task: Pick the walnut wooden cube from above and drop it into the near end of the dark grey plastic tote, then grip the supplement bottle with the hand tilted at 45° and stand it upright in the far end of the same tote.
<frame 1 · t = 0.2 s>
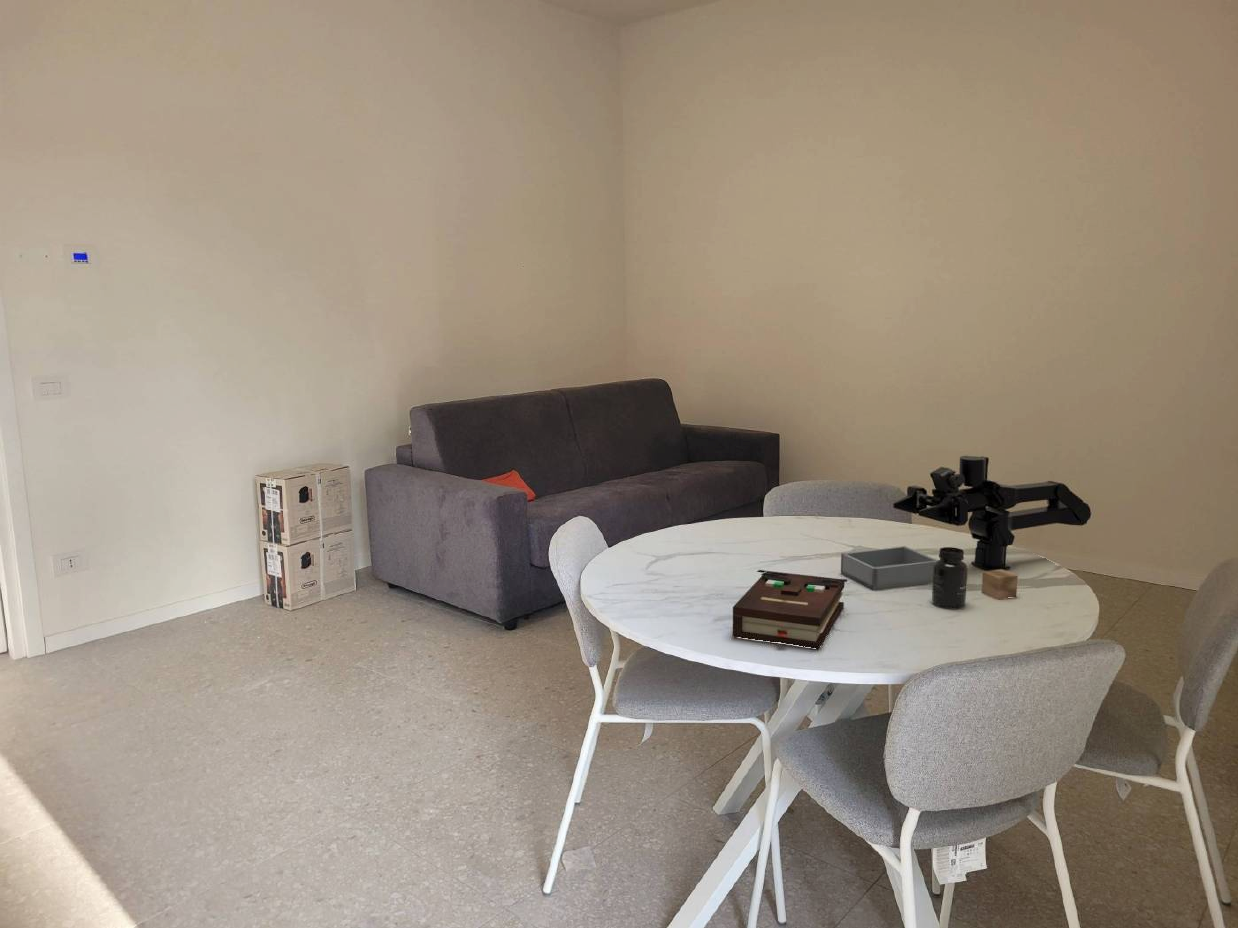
hand: (905, 509, 210), 17 cm above the table, tool horizontal, fingers open, 9 cm apart
supplement bottle: (948, 604, 196), on the table
decorative book: (790, 625, 186), on the table
walnut cube: (998, 595, 201), on the table
tote: (889, 577, 214), on the table
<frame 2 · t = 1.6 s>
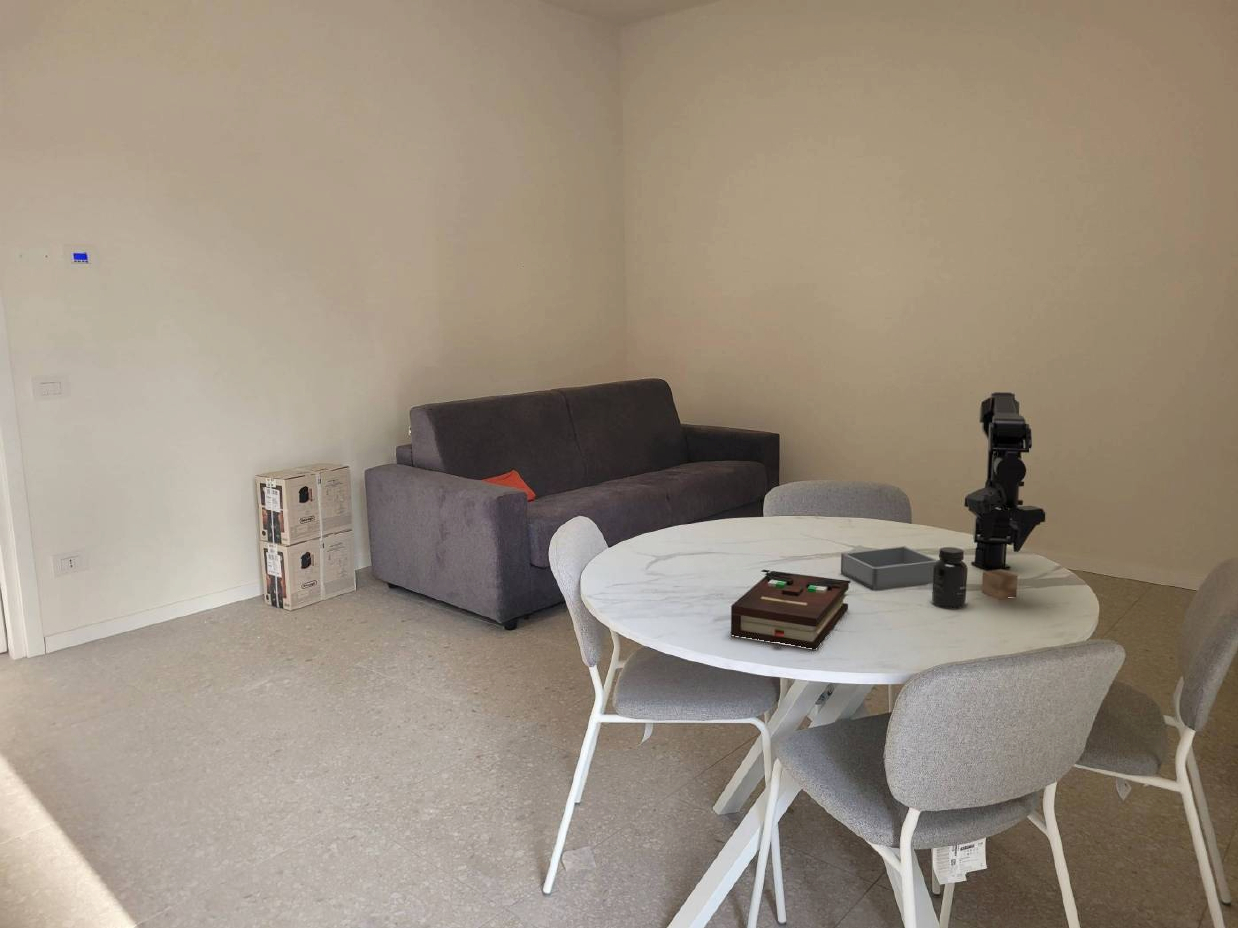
hand: (1001, 546, 199), 11 cm above the table, tool pointing down, fingers open, 9 cm apart
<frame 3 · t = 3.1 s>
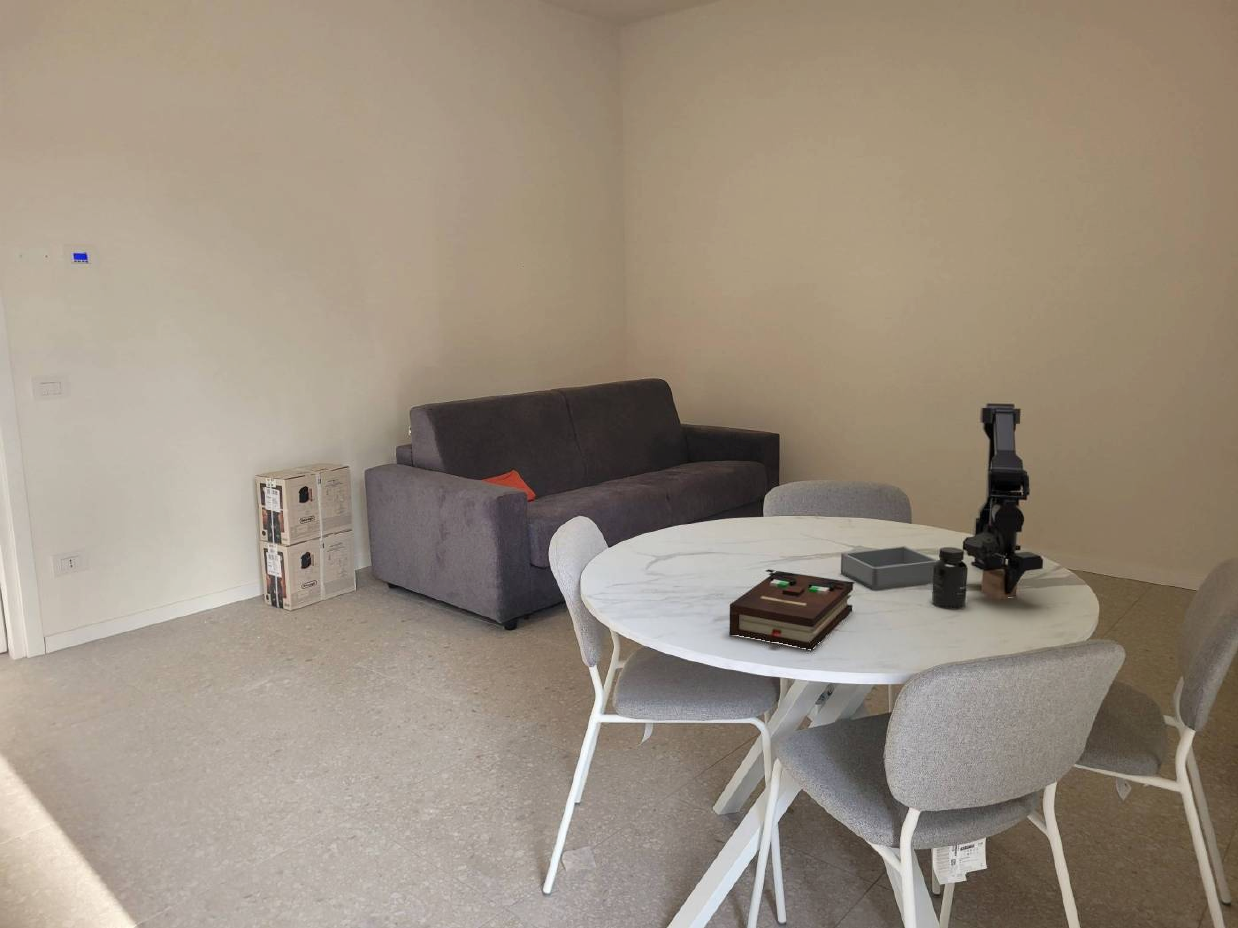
hand: (999, 590, 201), 1 cm above the table, tool pointing down, fingers closed on walnut cube, 5 cm apart
walnut cube: (998, 594, 201), on the table, touching gripper
when the fingers open (5 cm above the table, at t = 7.3 s): walnut cube drops 3 cm, resting on tote.
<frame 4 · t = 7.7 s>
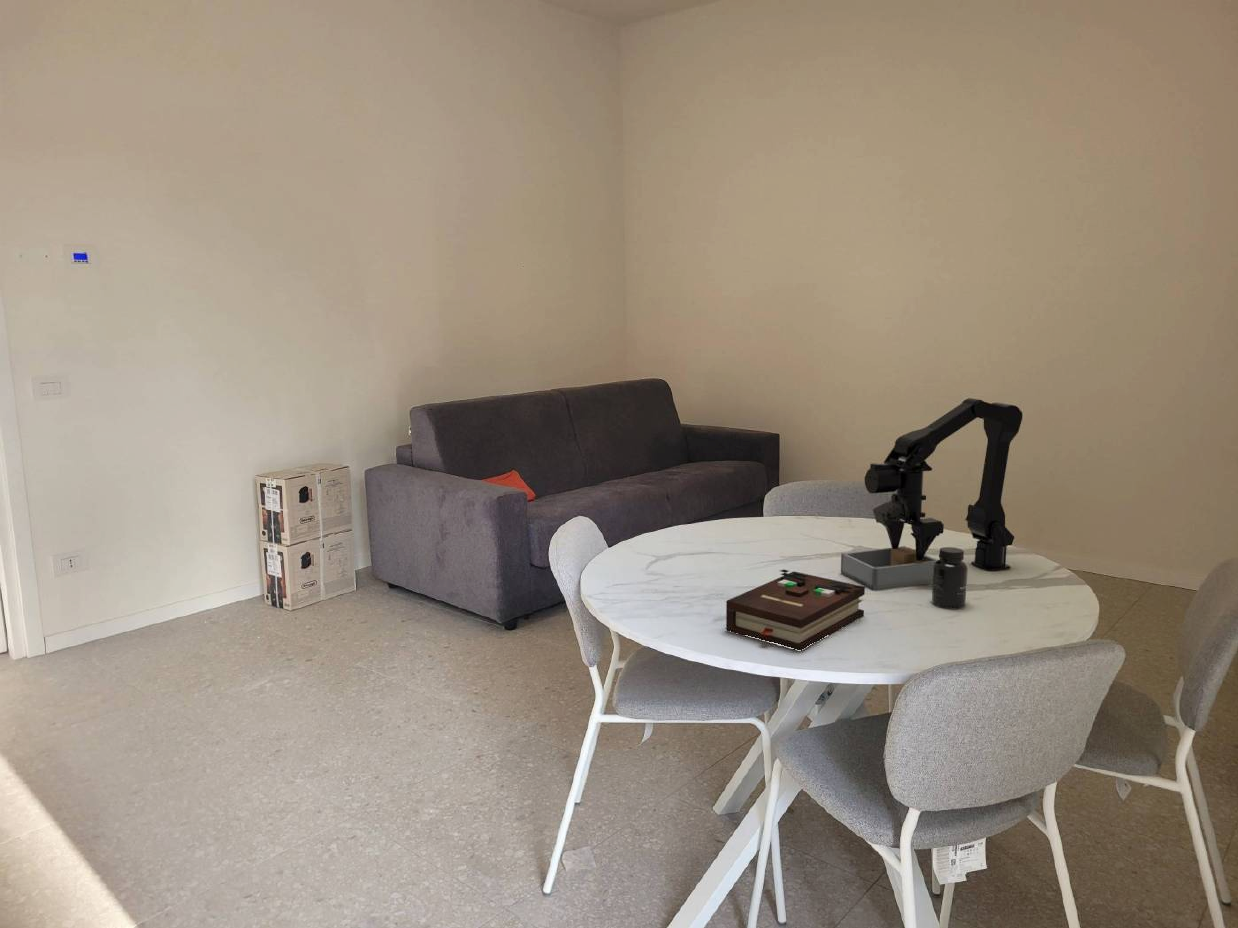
hand: (906, 555, 214), 5 cm above the table, tool pointing down, fingers open, 9 cm apart
walnut cube: (905, 571, 215), point 1 cm above the table, touching tote
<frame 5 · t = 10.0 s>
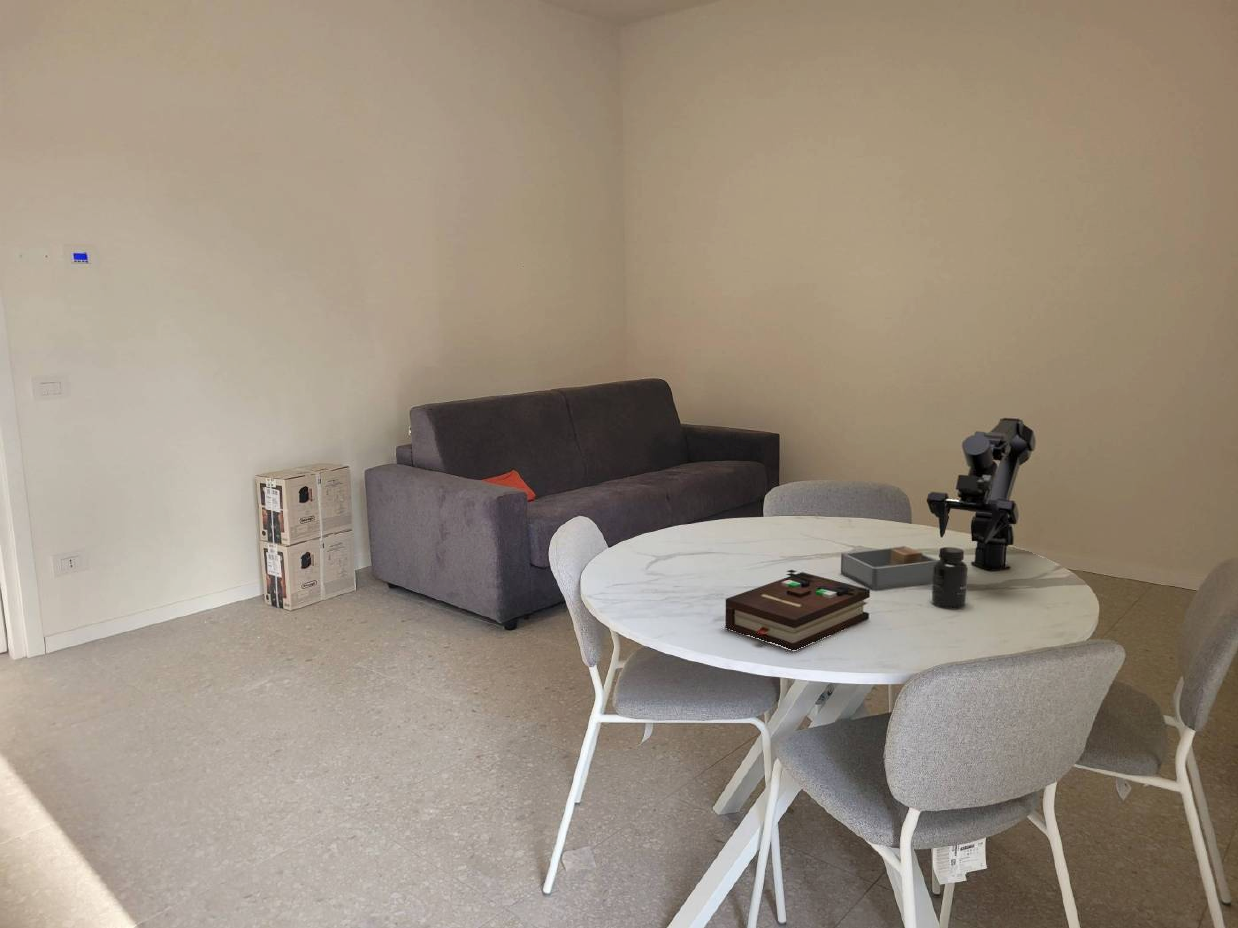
hand: (962, 539, 199), 12 cm above the table, tool tilted 45°, fingers open, 9 cm apart
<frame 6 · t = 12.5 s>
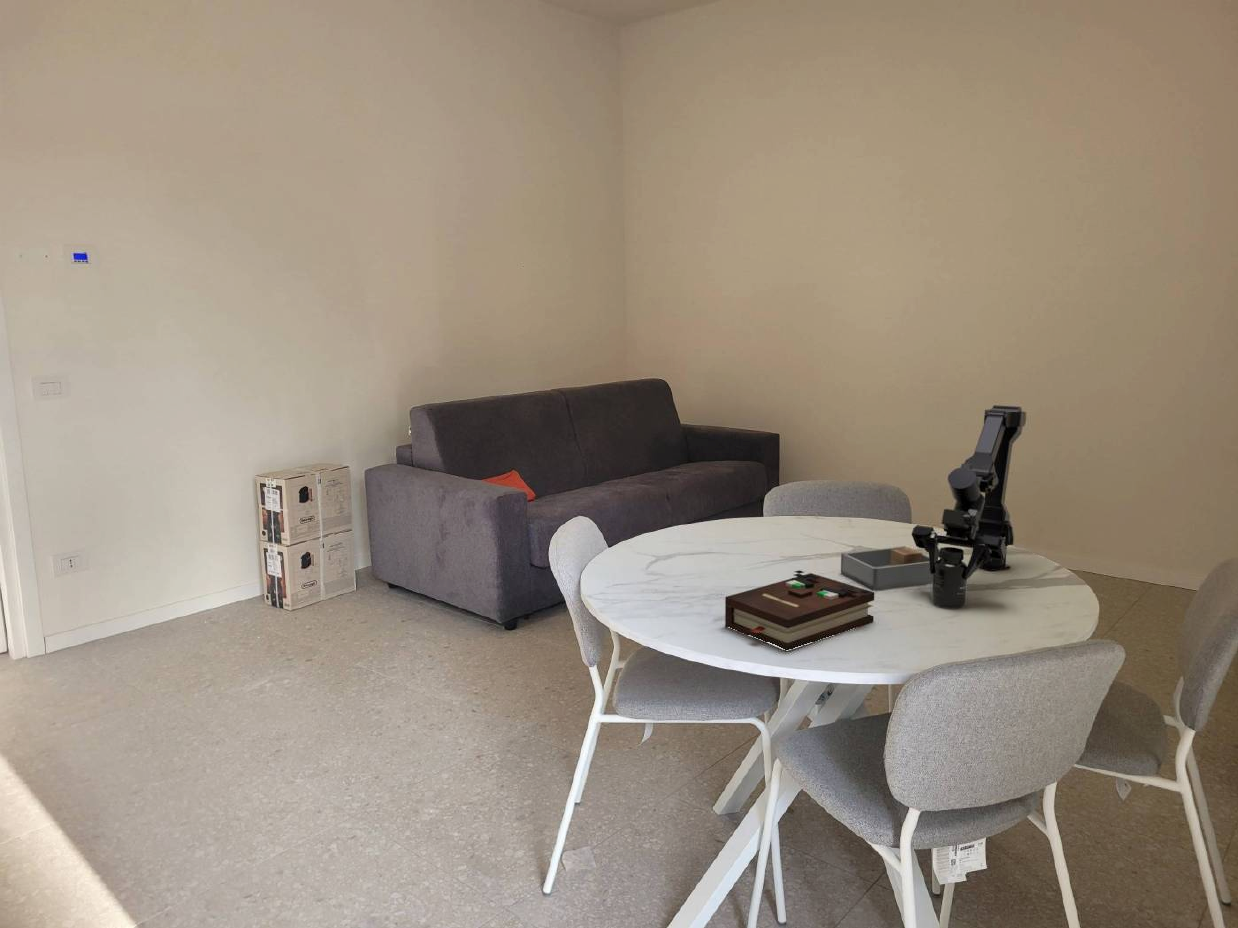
hand: (948, 575, 193), 7 cm above the table, tool tilted 45°, fingers closed on supplement bottle, 7 cm apart
supplement bottle: (948, 604, 195), on the table, touching gripper
when the fingers open (9 cm above the table, at t = 17.2 s): supplement bottle drops 1 cm, resting on tote.
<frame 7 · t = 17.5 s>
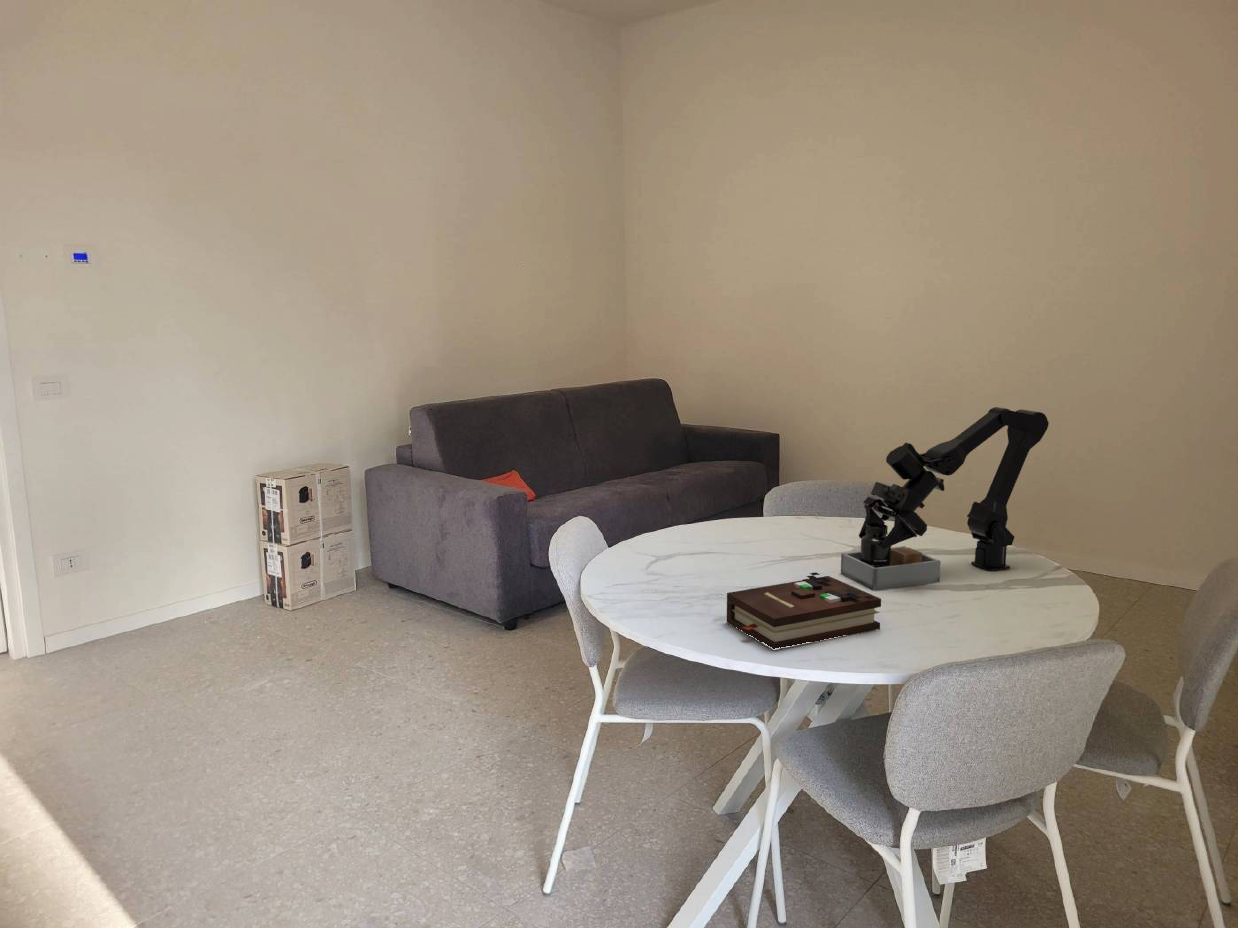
hand: (870, 542, 211), 9 cm above the table, tool tilted 45°, fingers open, 9 cm apart
supplement bottle: (874, 576, 213), point 1 cm above the table, touching tote
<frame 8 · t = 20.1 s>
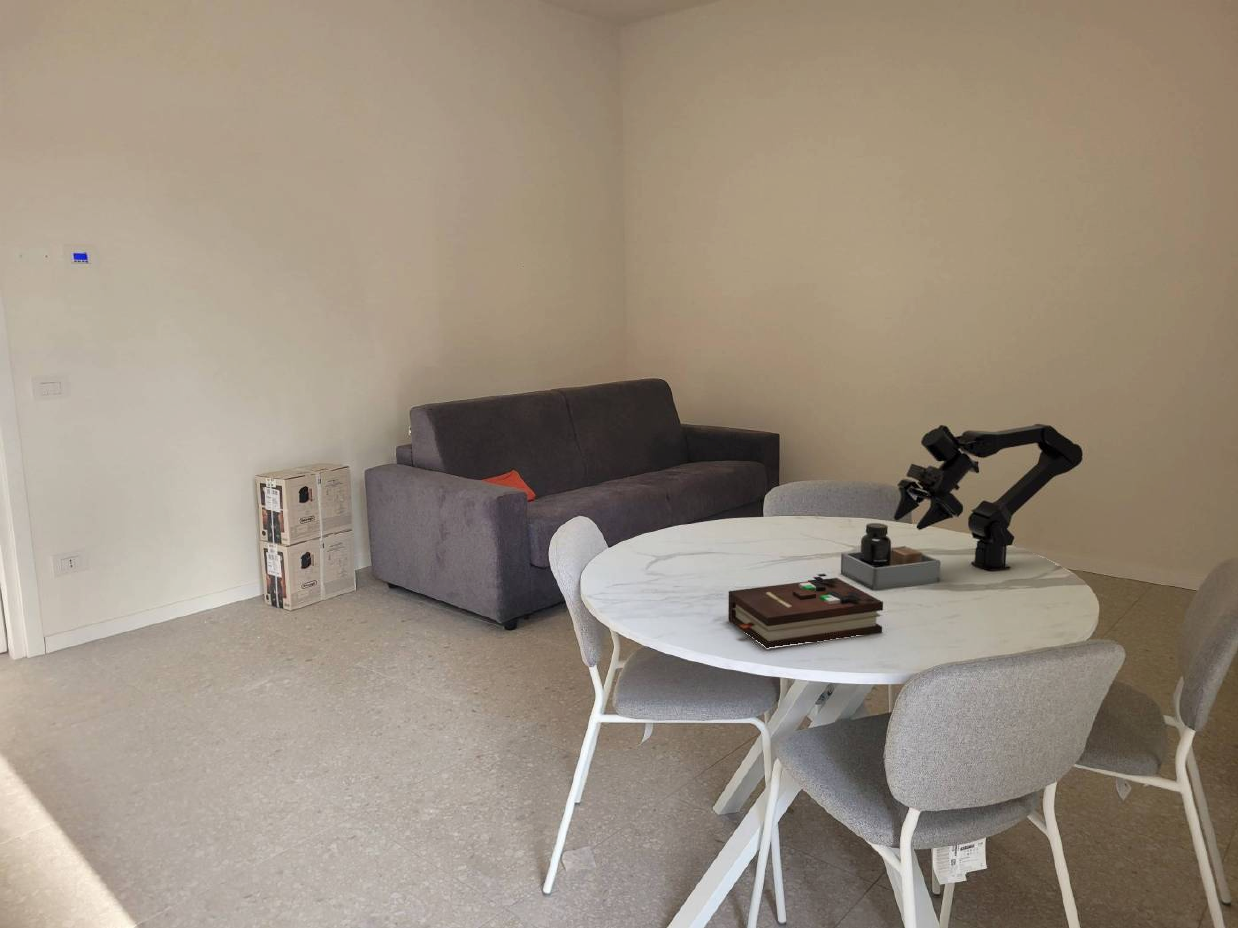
hand: (906, 523, 213), 13 cm above the table, tool tilted 45°, fingers open, 9 cm apart
at the end: walnut cube inside the target area on the tote (4.5 cm from its centre), point 1.0 cm above the tote's base; supplement bottle inside the target area on the tote (3.9 cm from its centre), point 0.8 cm above the tote's base; supplement bottle tilted 0° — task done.
